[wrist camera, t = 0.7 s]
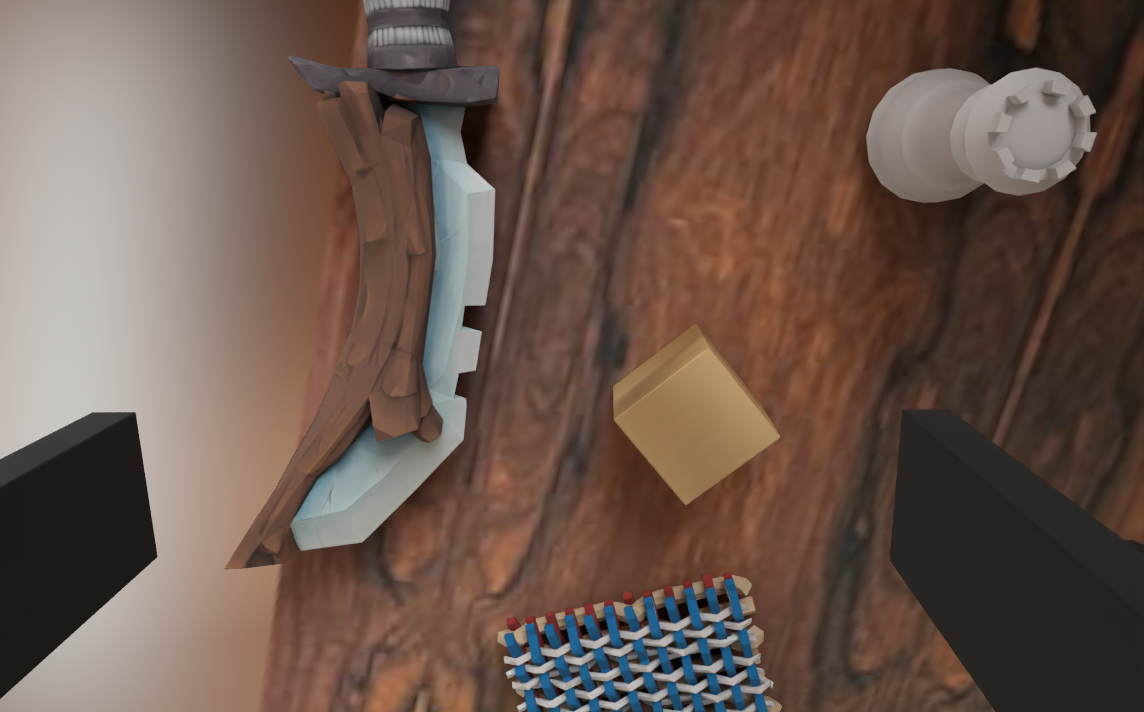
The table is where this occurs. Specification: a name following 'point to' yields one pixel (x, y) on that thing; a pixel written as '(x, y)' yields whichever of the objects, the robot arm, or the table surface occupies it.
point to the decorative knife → (392, 284)
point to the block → (691, 415)
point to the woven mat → (644, 654)
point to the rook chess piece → (978, 133)
